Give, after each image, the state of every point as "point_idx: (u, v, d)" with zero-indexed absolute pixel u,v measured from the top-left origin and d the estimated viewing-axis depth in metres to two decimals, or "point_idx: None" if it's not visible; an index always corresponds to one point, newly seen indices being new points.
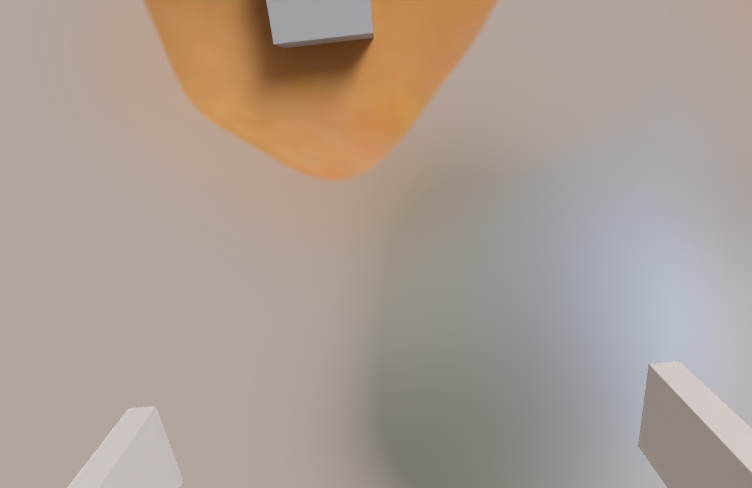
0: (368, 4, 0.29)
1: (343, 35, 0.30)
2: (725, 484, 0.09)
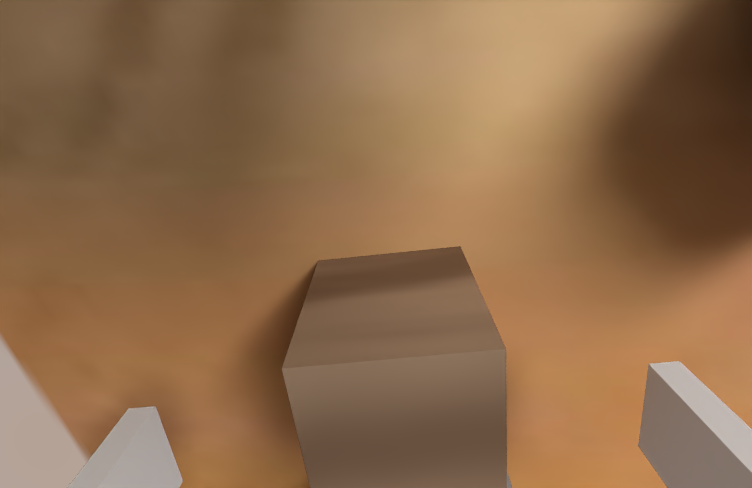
0: None
1: None
2: (725, 484, 0.09)
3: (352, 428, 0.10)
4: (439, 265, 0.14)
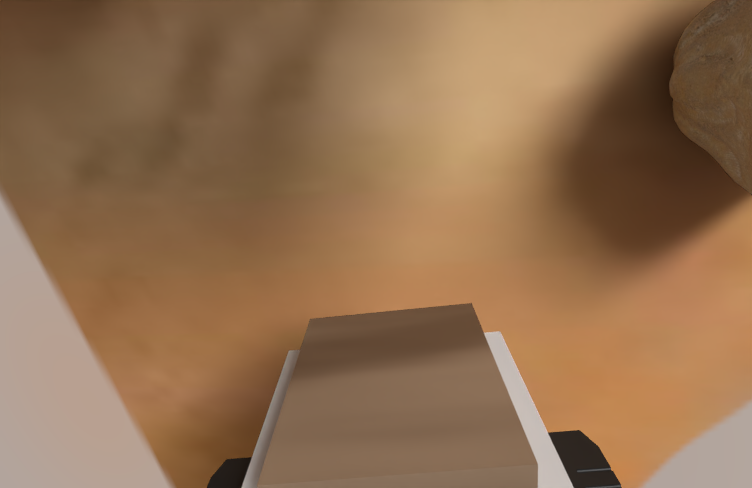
0: None
1: None
2: None
3: None
4: (448, 330, 0.12)
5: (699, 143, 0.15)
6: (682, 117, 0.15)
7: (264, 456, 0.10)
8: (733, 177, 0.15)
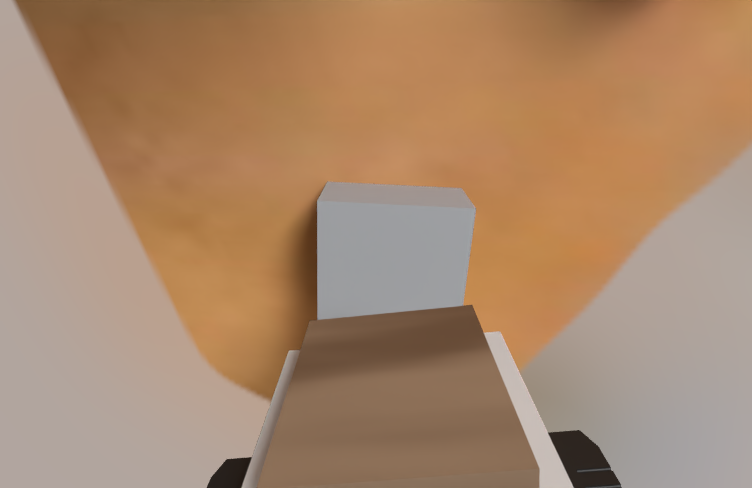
0: None
1: None
2: None
3: None
4: (449, 332, 0.12)
5: None
6: None
7: (264, 456, 0.10)
8: None
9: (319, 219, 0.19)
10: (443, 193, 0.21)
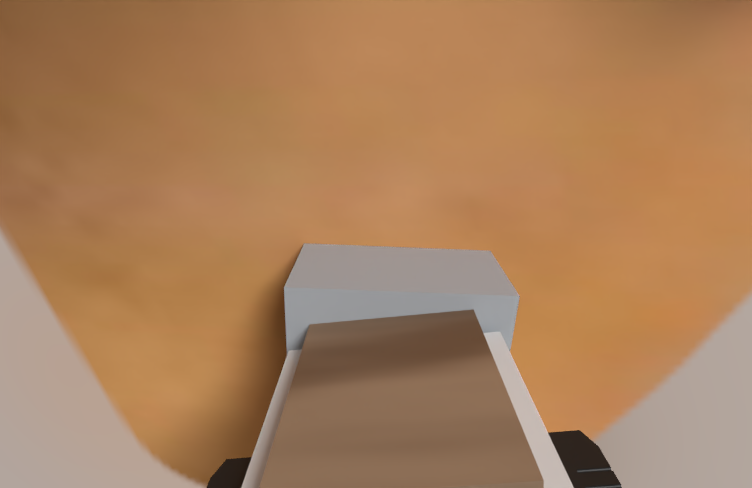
0: None
1: None
2: None
3: None
4: (450, 337, 0.12)
5: None
6: None
7: (264, 456, 0.10)
8: None
9: (288, 312, 0.13)
10: (466, 262, 0.15)
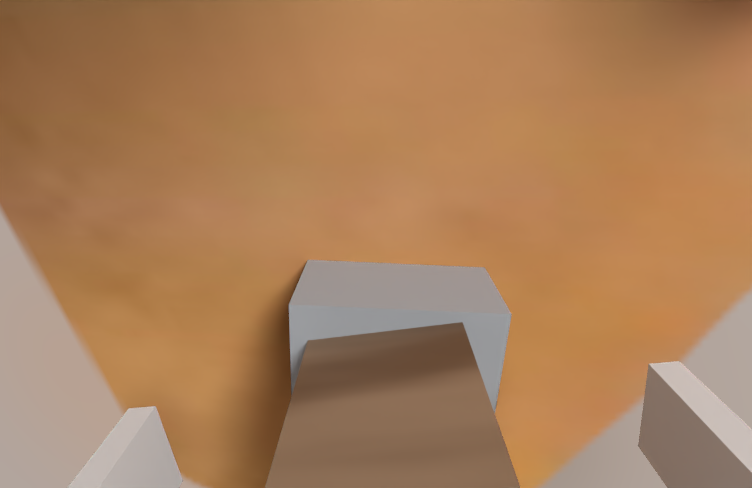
0: None
1: None
2: (725, 484, 0.09)
3: None
4: (439, 350, 0.12)
5: None
6: None
7: None
8: None
9: (292, 328, 0.14)
10: (462, 280, 0.16)
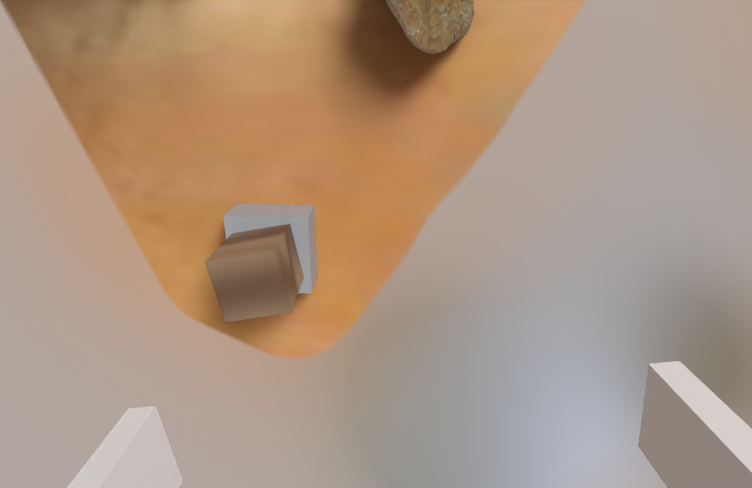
0: (309, 275, 0.37)
1: None
2: (725, 484, 0.09)
3: (230, 282, 0.31)
4: (275, 231, 0.34)
5: None
6: None
7: None
8: None
9: (225, 226, 0.36)
10: (299, 209, 0.38)
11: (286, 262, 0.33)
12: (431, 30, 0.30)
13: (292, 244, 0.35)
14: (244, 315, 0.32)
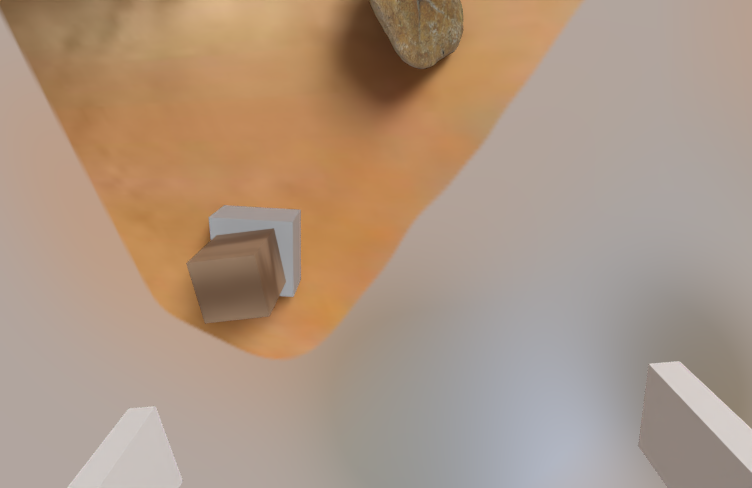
0: (291, 278, 0.38)
1: None
2: (725, 483, 0.09)
3: (211, 284, 0.31)
4: (259, 235, 0.35)
5: None
6: None
7: None
8: None
9: (210, 227, 0.36)
10: (285, 213, 0.38)
11: (267, 266, 0.33)
12: (420, 46, 0.31)
13: (275, 248, 0.36)
14: (224, 317, 0.32)
